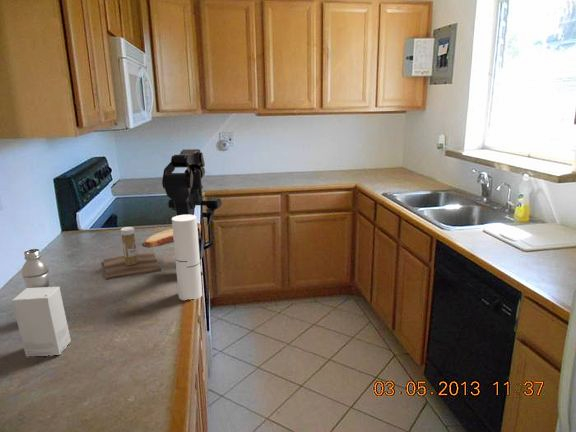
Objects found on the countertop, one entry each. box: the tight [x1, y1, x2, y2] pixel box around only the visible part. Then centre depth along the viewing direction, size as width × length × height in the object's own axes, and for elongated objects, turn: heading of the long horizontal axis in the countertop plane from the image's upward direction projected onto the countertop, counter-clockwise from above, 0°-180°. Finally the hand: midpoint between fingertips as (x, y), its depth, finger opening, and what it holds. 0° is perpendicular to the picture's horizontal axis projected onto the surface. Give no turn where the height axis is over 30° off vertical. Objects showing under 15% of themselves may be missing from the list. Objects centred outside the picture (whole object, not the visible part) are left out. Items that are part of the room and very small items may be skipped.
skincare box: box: [11, 286, 72, 357], centre depth 101 cm, size 8×7×16 cm
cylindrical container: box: [171, 214, 203, 301], centre depth 128 cm, size 7×7×25 cm
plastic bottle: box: [21, 248, 51, 288], centre depth 115 cm, size 6×7×20 cm
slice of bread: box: [143, 227, 174, 248], centre depth 182 cm, size 18×18×4 cm
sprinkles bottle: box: [120, 226, 138, 266], centre depth 152 cm, size 5×5×13 cm
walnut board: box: [103, 251, 162, 281], centre depth 154 cm, size 18×18×1 cm
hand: (196, 225), depth 158 cm, fingers open, 9 cm apart
